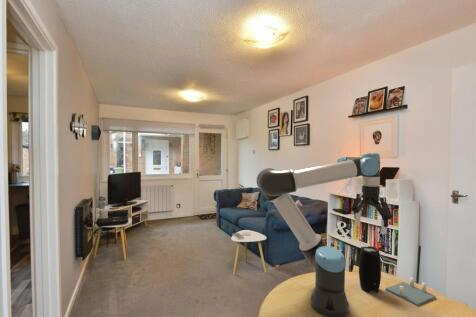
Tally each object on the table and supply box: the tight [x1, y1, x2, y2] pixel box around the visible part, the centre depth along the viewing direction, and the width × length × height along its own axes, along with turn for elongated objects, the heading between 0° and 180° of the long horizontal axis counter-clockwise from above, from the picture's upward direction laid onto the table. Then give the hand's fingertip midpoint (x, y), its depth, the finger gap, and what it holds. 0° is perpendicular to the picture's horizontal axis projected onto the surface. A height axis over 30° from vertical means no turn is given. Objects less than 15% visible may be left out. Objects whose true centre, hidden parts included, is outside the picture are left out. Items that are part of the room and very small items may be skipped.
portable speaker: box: [358, 245, 382, 293], centre depth 119 cm, size 9×9×20 cm
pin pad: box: [385, 276, 437, 307], centre depth 115 cm, size 14×14×5 cm
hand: (370, 229), depth 119 cm, fingers open, 13 cm apart
